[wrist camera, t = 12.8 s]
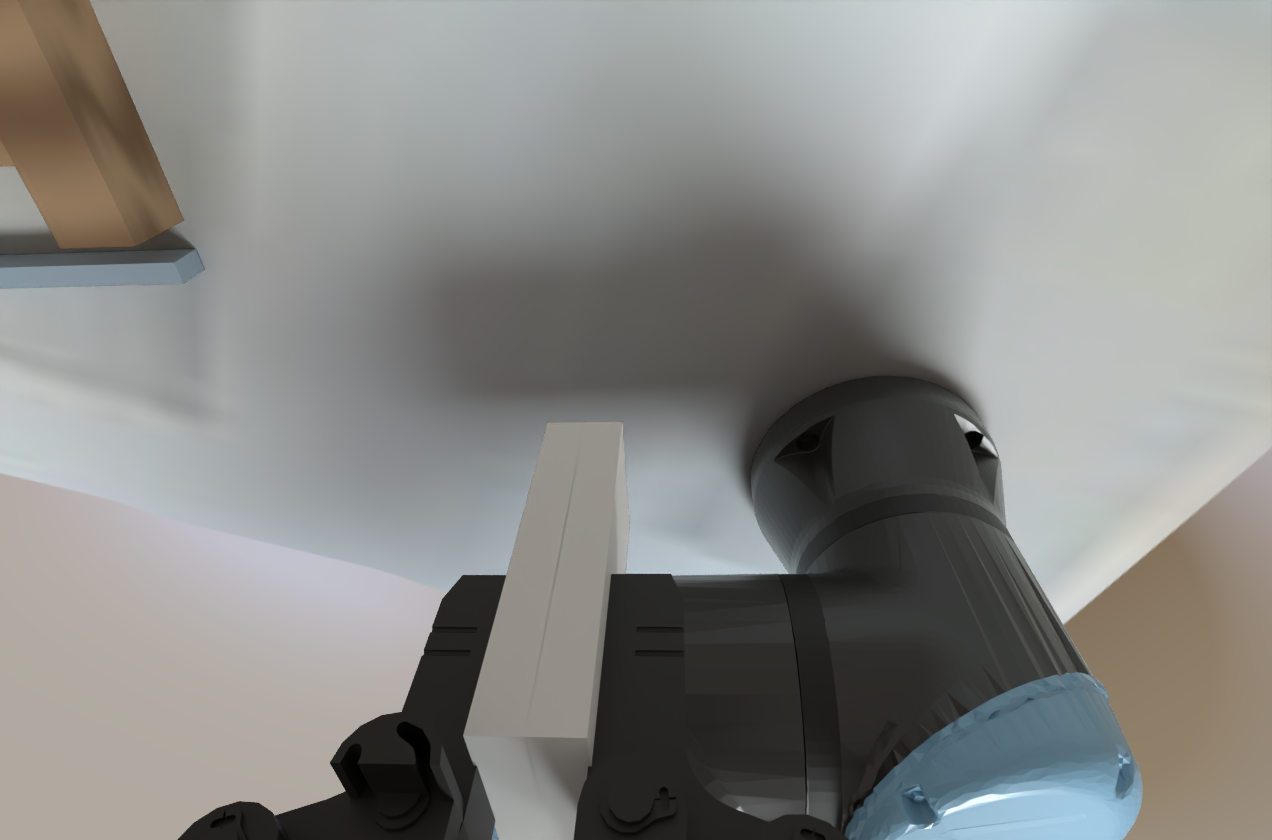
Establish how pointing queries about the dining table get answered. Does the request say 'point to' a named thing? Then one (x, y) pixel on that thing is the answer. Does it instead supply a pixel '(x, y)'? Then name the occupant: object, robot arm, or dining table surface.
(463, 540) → the dining table surface
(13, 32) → the t block
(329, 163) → the dining table surface
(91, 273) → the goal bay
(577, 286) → the dining table surface
